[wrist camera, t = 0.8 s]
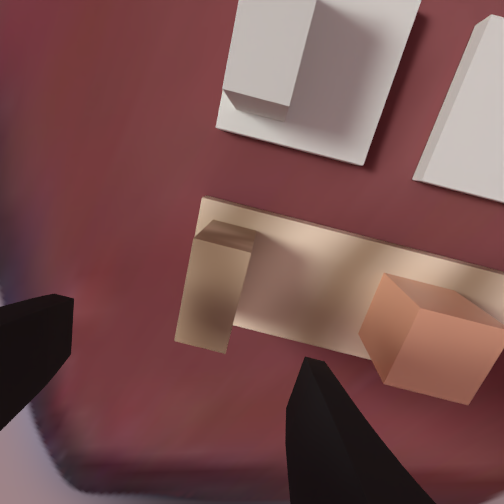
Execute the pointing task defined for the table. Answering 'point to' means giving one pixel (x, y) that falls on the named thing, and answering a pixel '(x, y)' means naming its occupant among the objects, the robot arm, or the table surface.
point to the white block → (360, 87)
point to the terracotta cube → (430, 339)
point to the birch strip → (303, 279)
